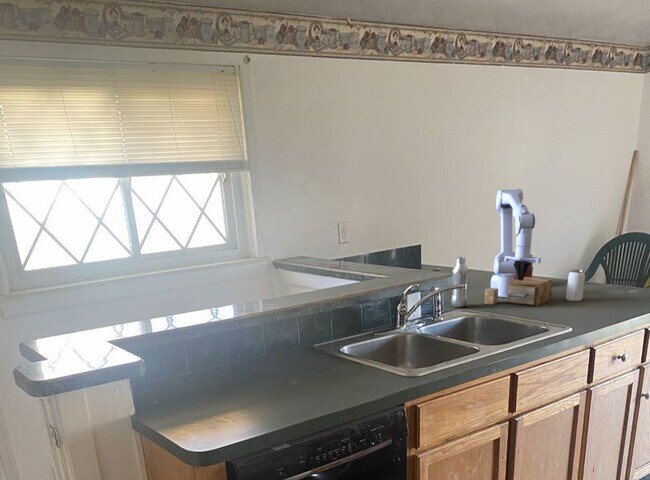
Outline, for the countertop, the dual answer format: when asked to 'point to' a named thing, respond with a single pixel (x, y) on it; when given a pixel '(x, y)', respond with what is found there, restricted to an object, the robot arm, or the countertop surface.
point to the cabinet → (541, 286)
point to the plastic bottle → (459, 282)
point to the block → (491, 295)
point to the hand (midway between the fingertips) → (520, 280)
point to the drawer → (521, 294)
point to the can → (575, 285)
